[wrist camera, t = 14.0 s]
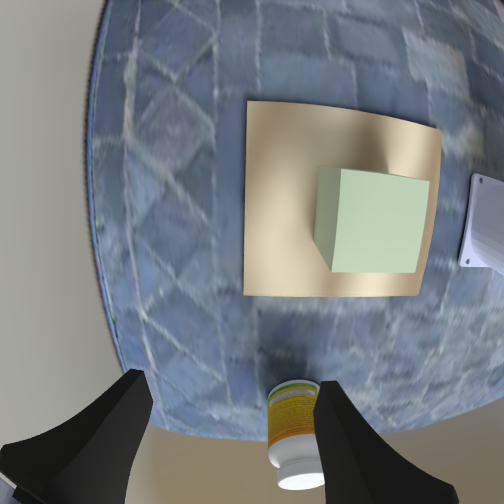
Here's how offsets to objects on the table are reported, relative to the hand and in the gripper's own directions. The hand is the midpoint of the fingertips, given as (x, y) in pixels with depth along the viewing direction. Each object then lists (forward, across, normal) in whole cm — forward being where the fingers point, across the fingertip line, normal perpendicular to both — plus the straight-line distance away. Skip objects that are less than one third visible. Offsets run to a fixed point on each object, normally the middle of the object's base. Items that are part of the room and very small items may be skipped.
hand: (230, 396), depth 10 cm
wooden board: (+10, -7, -6) cm, 14 cm away
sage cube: (+10, -7, -6) cm, 14 cm away
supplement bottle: (+11, -5, +12) cm, 17 cm away
